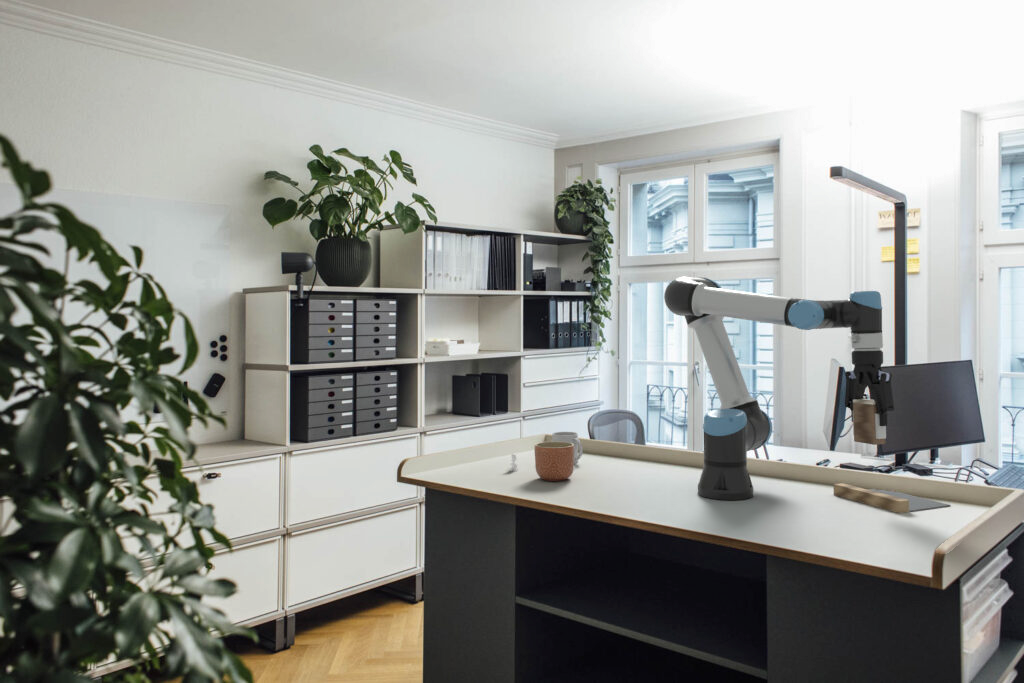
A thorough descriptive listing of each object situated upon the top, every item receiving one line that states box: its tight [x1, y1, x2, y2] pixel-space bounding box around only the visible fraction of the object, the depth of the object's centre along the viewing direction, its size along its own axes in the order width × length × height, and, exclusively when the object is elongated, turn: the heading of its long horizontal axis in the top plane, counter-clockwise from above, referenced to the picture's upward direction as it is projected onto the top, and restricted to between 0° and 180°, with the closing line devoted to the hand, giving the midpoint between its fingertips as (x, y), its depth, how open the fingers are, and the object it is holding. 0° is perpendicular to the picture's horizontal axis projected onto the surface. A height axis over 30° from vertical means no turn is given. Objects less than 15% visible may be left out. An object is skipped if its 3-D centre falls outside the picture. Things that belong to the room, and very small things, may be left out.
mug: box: [551, 431, 584, 465], centre depth 264 cm, size 11×10×10 cm
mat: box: [867, 488, 951, 513], centre depth 204 cm, size 22×14×1 cm, turn 21°
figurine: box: [506, 453, 519, 473], centre depth 251 cm, size 8×8×6 cm
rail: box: [833, 482, 909, 514], centre depth 201 cm, size 22×3×3 cm, turn 21°
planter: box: [534, 440, 575, 482], centre depth 237 cm, size 12×12×11 cm
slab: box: [853, 398, 886, 446], centre depth 200 cm, size 7×4×11 cm, turn 19°
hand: (869, 436), depth 200 cm, fingers closed on slab, 7 cm apart
